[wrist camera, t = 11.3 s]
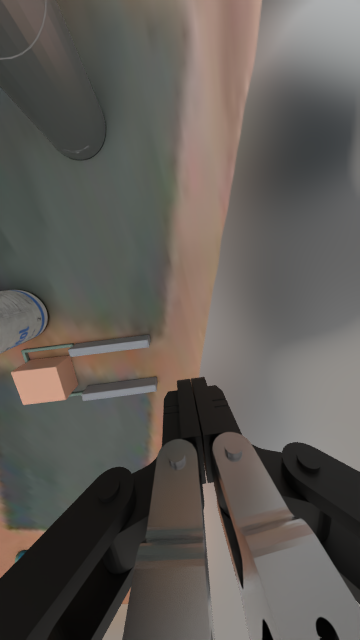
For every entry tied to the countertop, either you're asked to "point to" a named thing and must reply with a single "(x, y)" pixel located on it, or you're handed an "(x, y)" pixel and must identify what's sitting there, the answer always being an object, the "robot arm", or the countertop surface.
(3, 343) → the supplement tub
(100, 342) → the chute
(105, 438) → the countertop surface
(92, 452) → the countertop surface
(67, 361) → the block
